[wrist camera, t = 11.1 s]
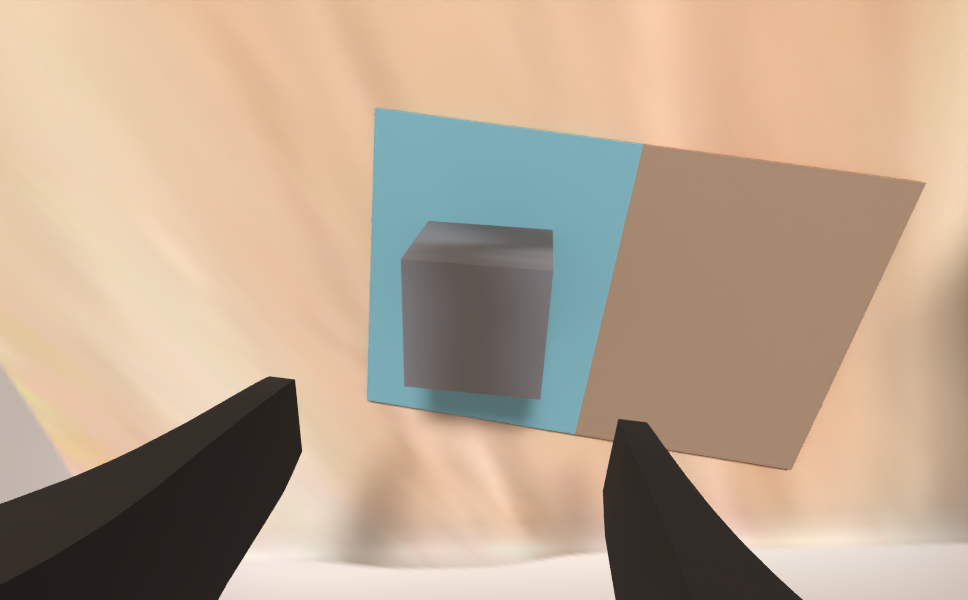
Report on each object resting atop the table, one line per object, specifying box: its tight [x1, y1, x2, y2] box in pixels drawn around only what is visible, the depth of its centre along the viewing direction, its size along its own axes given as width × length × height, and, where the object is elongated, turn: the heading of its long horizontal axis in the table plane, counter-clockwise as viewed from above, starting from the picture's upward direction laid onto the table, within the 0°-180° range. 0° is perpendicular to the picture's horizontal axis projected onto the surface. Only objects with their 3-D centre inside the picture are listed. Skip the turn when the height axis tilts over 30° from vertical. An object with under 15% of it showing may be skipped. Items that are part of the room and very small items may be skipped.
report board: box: [367, 108, 926, 470], centre depth 20 cm, size 18×12×1 cm, turn 83°
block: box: [401, 221, 553, 400], centre depth 19 cm, size 4×4×4 cm
